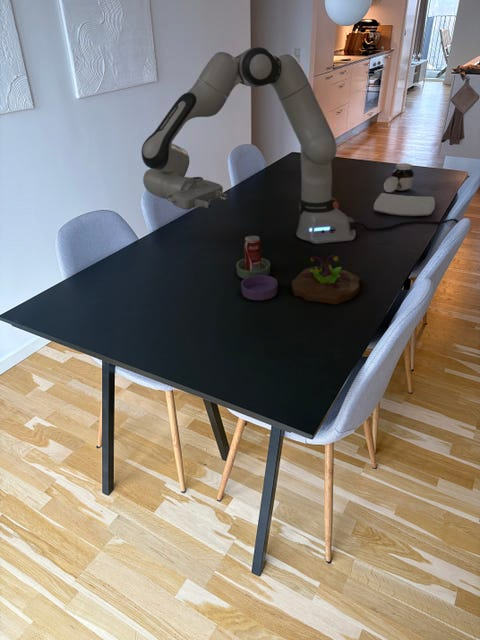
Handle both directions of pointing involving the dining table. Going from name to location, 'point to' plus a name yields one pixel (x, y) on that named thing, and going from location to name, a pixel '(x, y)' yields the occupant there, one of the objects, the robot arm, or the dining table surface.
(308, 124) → the robot arm
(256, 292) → the lavender bowl
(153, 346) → the dining table surface
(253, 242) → the soda can
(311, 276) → the plant
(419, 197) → the plate
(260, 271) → the green bowl
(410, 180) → the spread jar
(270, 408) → the dining table surface
